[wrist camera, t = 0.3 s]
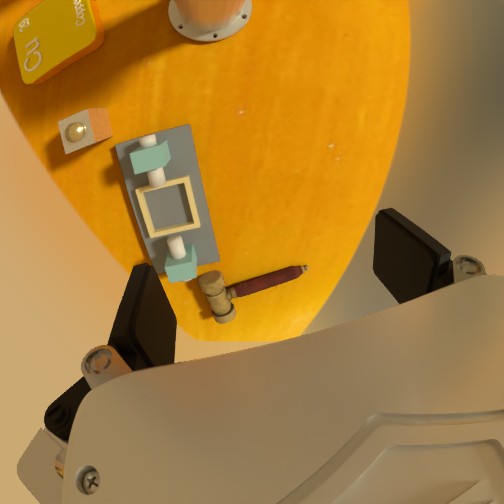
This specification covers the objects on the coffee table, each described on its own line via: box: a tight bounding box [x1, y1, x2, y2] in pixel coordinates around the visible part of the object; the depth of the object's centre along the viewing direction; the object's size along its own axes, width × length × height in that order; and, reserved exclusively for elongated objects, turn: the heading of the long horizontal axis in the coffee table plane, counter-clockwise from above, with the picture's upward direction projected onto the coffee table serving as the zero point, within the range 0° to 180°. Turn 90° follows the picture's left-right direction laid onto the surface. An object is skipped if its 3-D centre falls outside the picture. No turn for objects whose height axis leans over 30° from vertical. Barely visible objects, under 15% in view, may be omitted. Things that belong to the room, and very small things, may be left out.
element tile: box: [13, 0, 105, 84], centre depth 24 cm, size 15×15×5 cm
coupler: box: [58, 108, 113, 154], centre depth 33 cm, size 5×5×9 cm
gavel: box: [198, 265, 309, 323], centre depth 54 cm, size 21×5×10 cm
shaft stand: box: [115, 124, 220, 283], centre depth 42 cm, size 24×12×8 cm, turn 9°
